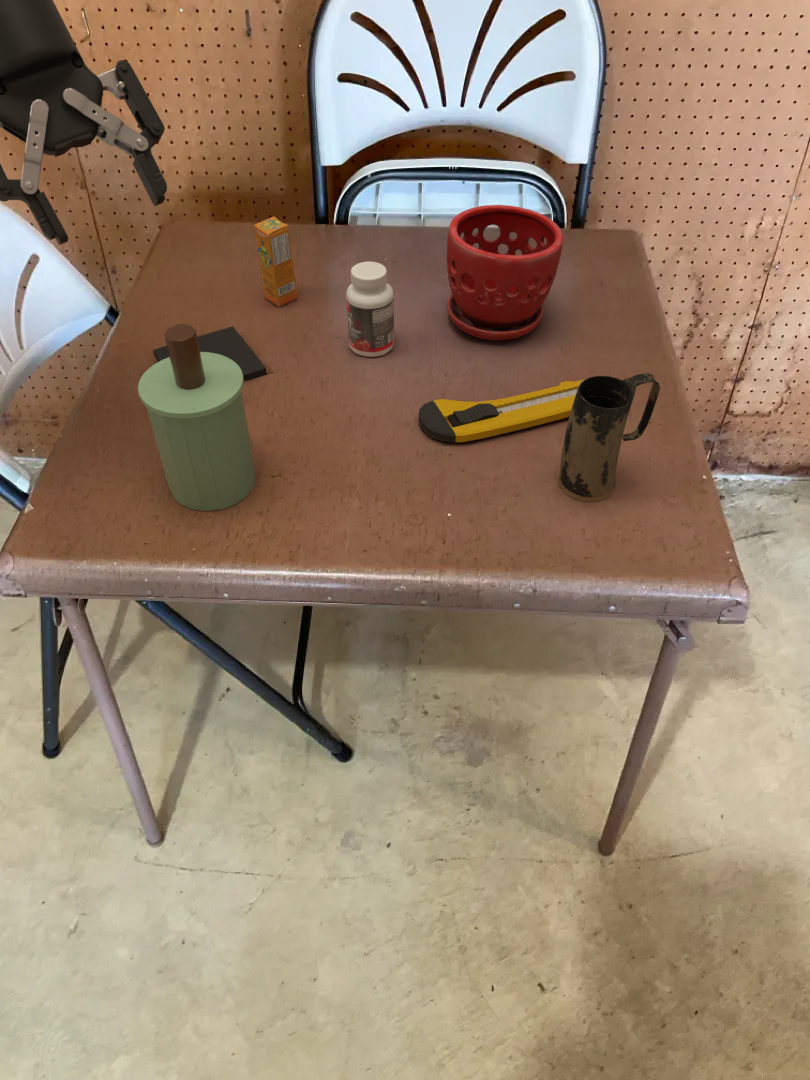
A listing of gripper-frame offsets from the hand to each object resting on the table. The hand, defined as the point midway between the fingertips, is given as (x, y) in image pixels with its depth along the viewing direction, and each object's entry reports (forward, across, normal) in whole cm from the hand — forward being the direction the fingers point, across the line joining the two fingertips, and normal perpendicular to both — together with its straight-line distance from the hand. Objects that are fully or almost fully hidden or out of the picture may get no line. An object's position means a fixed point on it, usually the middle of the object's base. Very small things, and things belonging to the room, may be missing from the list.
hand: (113, 221), depth 69 cm
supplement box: (+11, +20, +32) cm, 39 cm away
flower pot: (+24, +40, +17) cm, 50 cm away
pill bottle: (+20, +24, +20) cm, 37 cm away
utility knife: (+32, +30, +4) cm, 45 cm away
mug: (+40, +30, -7) cm, 50 cm away
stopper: (+14, 0, +2) cm, 15 cm away
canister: (+24, -2, +8) cm, 25 cm away
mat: (+14, +7, +24) cm, 29 cm away
